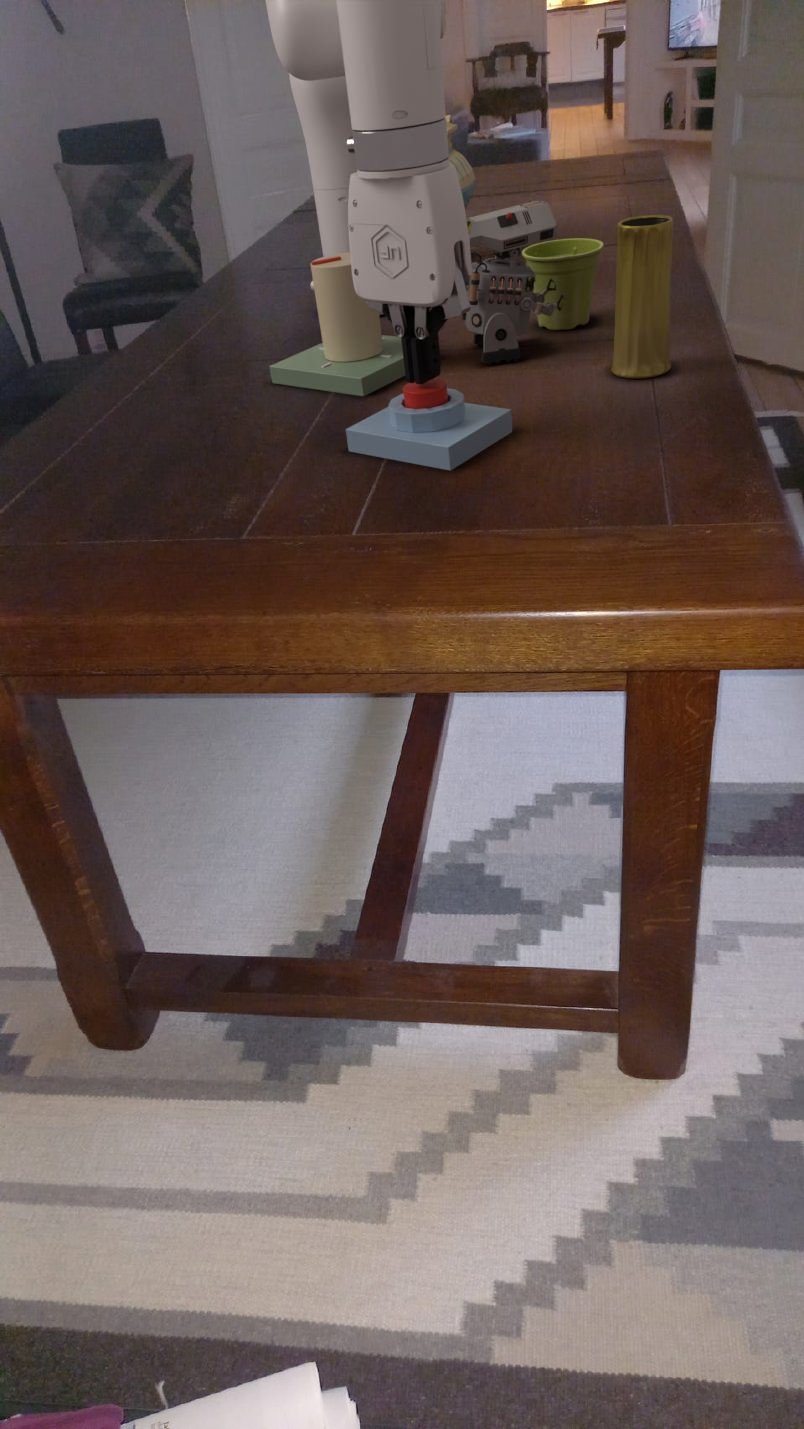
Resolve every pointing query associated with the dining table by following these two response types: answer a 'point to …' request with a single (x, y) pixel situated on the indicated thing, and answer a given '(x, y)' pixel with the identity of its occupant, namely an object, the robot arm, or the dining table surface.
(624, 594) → the dining table surface
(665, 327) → the vase
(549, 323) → the plant pot
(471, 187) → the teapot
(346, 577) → the dining table surface
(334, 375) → the swivel stand
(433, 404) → the button
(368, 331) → the cream cylinder red stripe
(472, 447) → the button box
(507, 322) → the figurine
